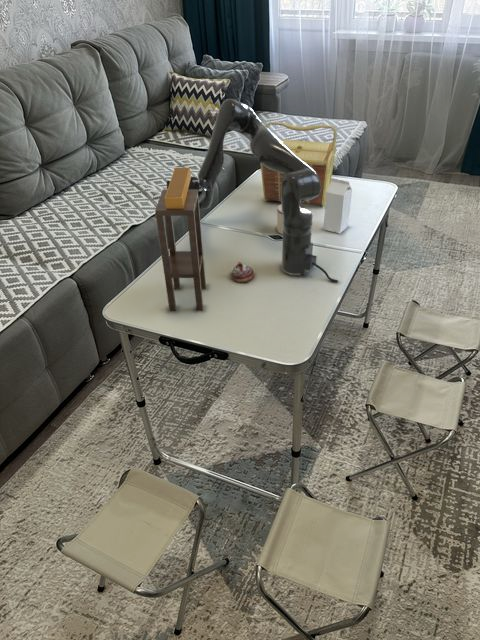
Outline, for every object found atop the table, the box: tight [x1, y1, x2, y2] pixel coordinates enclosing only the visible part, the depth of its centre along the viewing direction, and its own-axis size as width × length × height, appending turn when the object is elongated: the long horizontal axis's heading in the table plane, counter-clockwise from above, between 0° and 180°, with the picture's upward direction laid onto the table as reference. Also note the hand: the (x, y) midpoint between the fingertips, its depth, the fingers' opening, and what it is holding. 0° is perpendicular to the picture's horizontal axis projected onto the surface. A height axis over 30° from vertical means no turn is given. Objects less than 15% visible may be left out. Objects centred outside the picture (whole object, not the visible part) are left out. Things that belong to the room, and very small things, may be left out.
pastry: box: [230, 261, 255, 283], centre depth 167 cm, size 8×8×5 cm
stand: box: [154, 189, 207, 312], centre depth 149 cm, size 14×10×32 cm
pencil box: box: [165, 167, 192, 209], centre depth 141 cm, size 22×4×3 cm, turn 1°
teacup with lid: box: [276, 203, 302, 235], centre depth 192 cm, size 12×9×12 cm
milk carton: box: [322, 177, 353, 234], centre depth 190 cm, size 7×7×19 cm
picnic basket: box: [259, 121, 338, 207], centre depth 210 cm, size 29×26×30 cm
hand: (186, 182), depth 158 cm, fingers open, 8 cm apart
